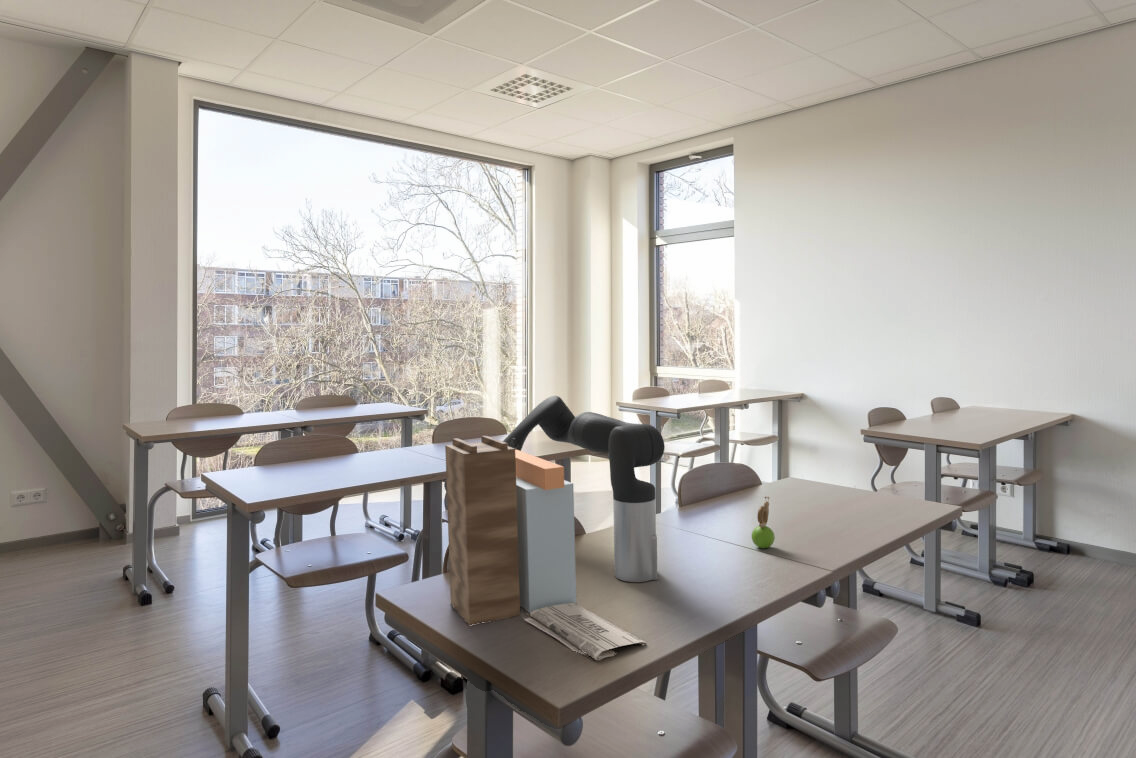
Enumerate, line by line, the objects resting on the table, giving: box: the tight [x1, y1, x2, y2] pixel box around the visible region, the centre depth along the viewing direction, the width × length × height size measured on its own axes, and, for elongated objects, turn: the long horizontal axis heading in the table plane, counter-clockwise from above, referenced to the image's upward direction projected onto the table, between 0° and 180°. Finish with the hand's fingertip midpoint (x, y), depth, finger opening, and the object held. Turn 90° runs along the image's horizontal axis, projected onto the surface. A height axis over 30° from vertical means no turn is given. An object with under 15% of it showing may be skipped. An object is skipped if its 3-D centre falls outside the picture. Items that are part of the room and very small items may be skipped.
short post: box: [516, 477, 577, 614], centre depth 139 cm, size 12×10×24 cm
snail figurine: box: [751, 496, 776, 549], centre depth 169 cm, size 5×6×12 cm
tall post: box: [444, 435, 521, 626], centre depth 133 cm, size 12×10×33 cm
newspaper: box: [523, 603, 648, 661], centre depth 123 cm, size 23×12×2 cm, turn 33°
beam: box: [515, 450, 565, 490], centre depth 141 cm, size 24×4×4 cm, turn 26°
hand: (497, 443), depth 158 cm, fingers open, 8 cm apart
